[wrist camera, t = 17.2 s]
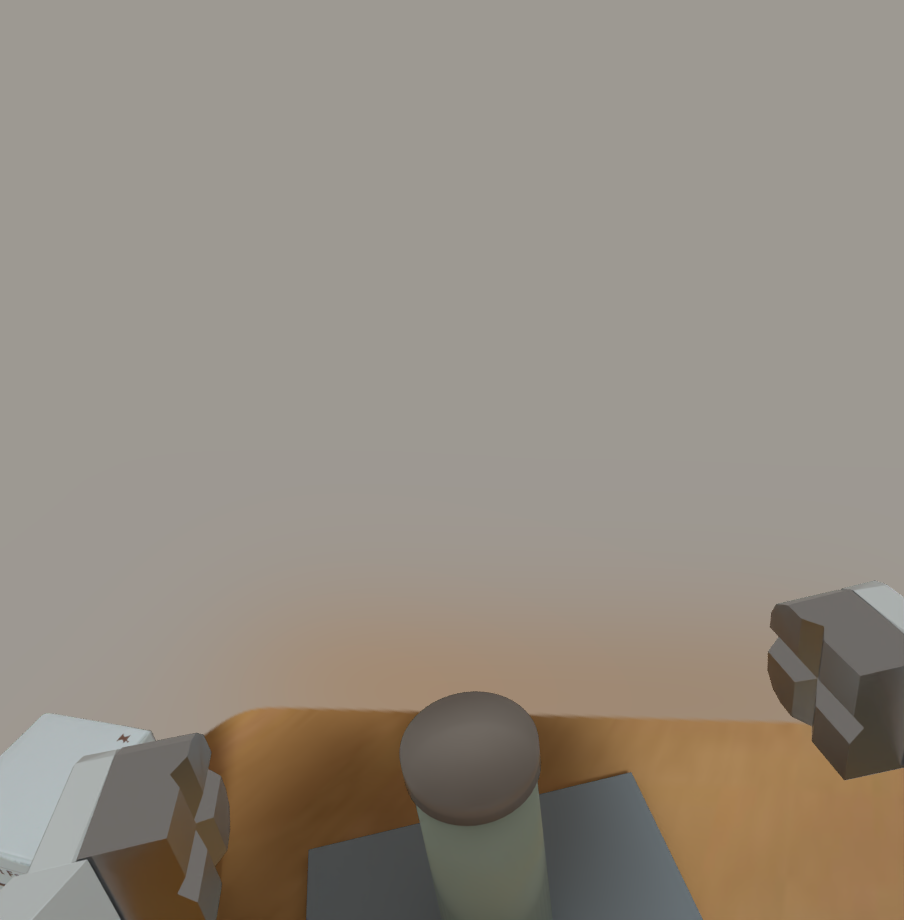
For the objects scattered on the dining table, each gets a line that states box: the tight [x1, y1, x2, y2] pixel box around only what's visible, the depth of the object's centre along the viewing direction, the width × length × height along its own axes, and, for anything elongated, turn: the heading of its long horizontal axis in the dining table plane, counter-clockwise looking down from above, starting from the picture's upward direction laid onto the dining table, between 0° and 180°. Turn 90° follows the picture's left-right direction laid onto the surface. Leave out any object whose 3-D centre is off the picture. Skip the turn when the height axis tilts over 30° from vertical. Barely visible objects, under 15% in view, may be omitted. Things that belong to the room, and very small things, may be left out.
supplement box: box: [0, 713, 156, 890], centre depth 35 cm, size 7×7×13 cm
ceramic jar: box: [400, 692, 553, 920], centre depth 32 cm, size 6×6×13 cm
